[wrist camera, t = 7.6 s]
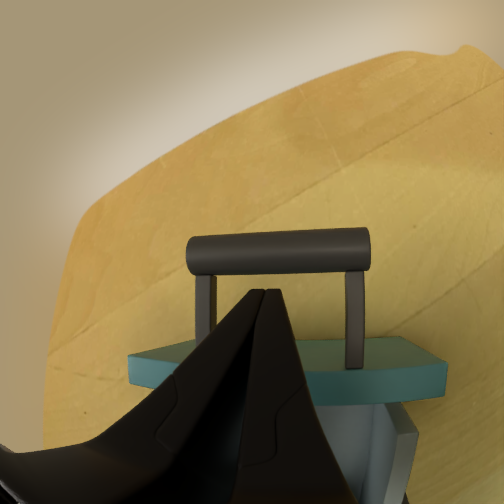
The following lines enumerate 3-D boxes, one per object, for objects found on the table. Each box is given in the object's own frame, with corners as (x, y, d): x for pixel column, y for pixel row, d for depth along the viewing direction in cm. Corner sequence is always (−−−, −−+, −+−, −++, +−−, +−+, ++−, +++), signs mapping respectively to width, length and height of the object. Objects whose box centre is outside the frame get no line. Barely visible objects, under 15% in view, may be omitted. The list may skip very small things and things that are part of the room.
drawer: (203, 261, 18) (124, 237, 11) (399, 254, 15) (448, 220, 8) (210, 499, 15) (159, 561, 8) (375, 510, 13) (382, 587, 5)
